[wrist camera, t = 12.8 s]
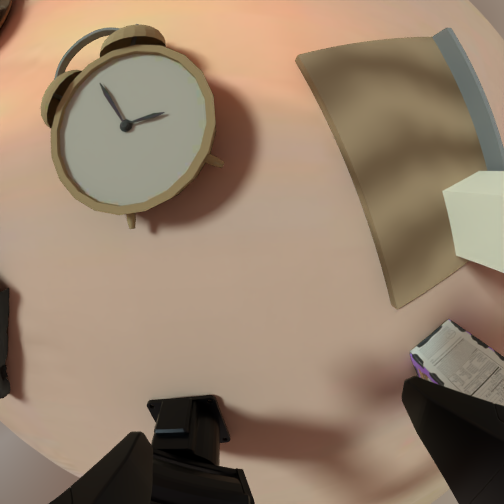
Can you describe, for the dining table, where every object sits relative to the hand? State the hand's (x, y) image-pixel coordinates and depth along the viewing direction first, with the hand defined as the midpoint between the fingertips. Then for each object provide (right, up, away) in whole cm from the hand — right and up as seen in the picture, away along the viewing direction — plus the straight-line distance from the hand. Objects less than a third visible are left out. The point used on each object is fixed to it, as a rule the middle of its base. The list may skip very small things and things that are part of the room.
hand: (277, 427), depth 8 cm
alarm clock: (-10, +15, +10) cm, 21 cm away
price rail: (+21, +17, +11) cm, 29 cm away
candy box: (+20, -8, +17) cm, 28 cm away
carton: (+19, +9, +12) cm, 24 cm away
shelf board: (+14, +13, +11) cm, 22 cm away
